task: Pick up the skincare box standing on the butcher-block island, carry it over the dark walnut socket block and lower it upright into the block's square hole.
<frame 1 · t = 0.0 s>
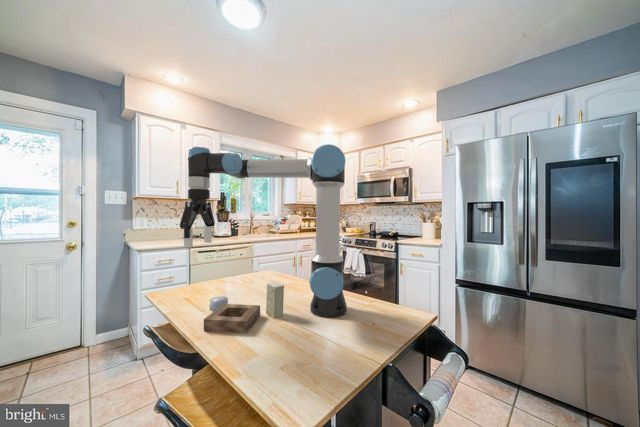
hand: (198, 244, 101), 28 cm above the kitchen island, fingers open, 13 cm apart
skincare box: (274, 315, 105), on the kitchen island
socket block: (233, 322, 97), on the kitchen island
light blue rounded block: (218, 308, 111), on the kitchen island
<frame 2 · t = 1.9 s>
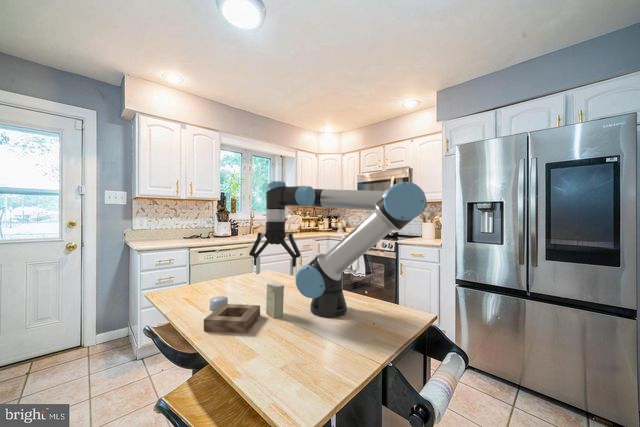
hand: (274, 274, 105), 16 cm above the kitchen island, fingers open, 13 cm apart
nothing on the kitchen island moved.
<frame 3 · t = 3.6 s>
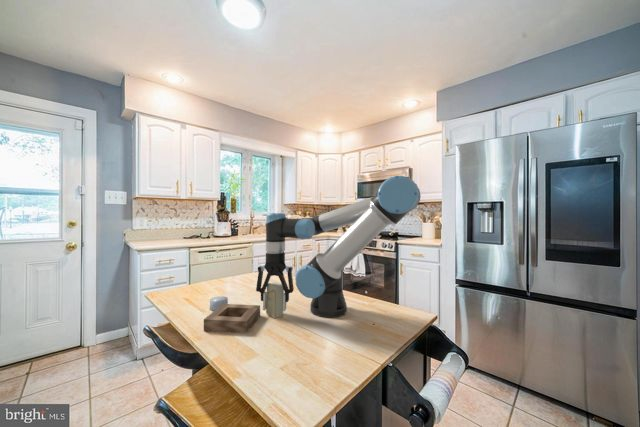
hand: (274, 309, 105), 2 cm above the kitchen island, fingers closed on skincare box, 7 cm apart
skincare box: (274, 315, 105), on the kitchen island, touching gripper
everything else where it was.
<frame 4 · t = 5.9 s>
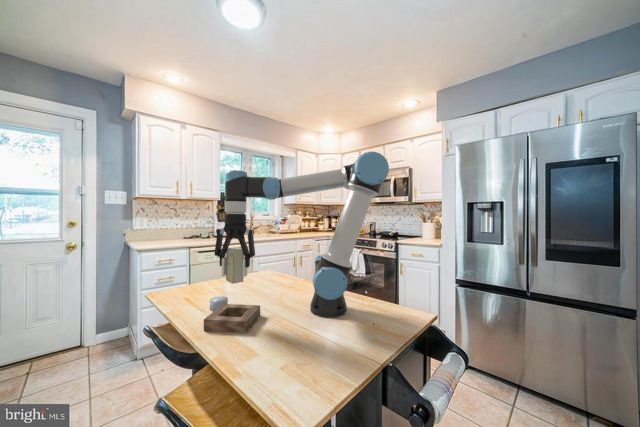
hand: (234, 275, 97), 17 cm above the kitchen island, fingers closed on skincare box, 7 cm apart
skincare box: (234, 281, 97), point 15 cm above the kitchen island, touching gripper
everything else where it was.
when the fingers open (5 cm above the kitchen island, at t = 8.0 s): skincare box drops 3 cm, resting in socket block.
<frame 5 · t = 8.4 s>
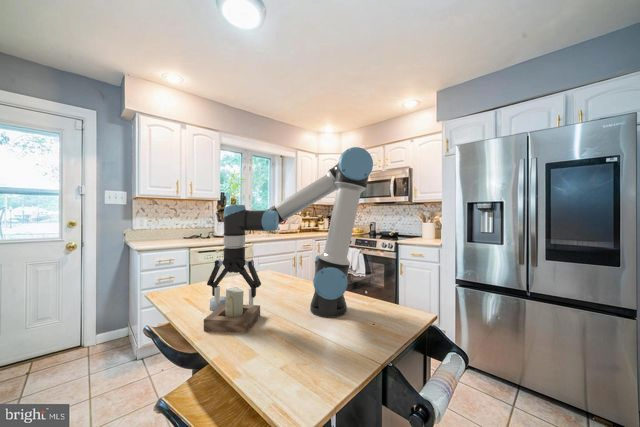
hand: (234, 305, 97), 6 cm above the kitchen island, fingers open, 12 cm apart
skincare box: (234, 323, 97), resting in socket block
everything else where it was.
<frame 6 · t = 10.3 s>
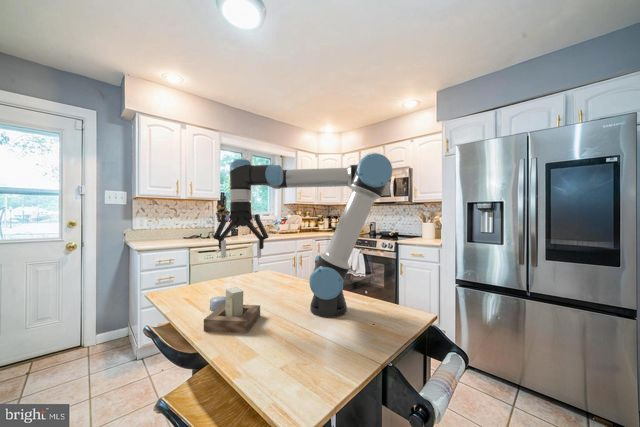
hand: (241, 257, 100), 23 cm above the kitchen island, fingers open, 13 cm apart
nothing on the kitchen island moved.
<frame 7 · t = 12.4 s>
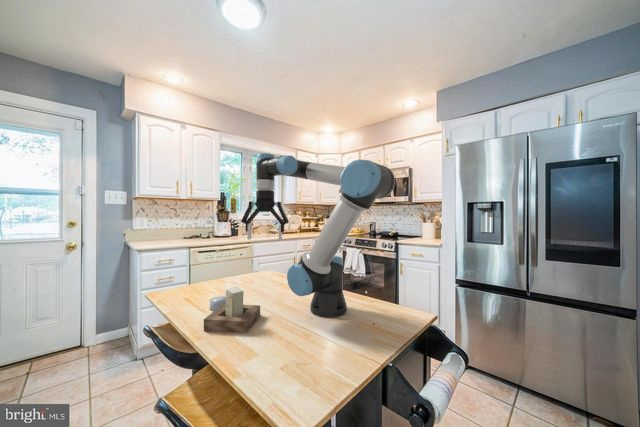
hand: (264, 239, 114), 29 cm above the kitchen island, fingers open, 13 cm apart
nothing on the kitchen island moved.
at the end: skincare box 0.1 cm off-centre on the socket block, point 0.0 cm above the socket block's base; skincare box tilted 0°; the gripper is holding nothing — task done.
